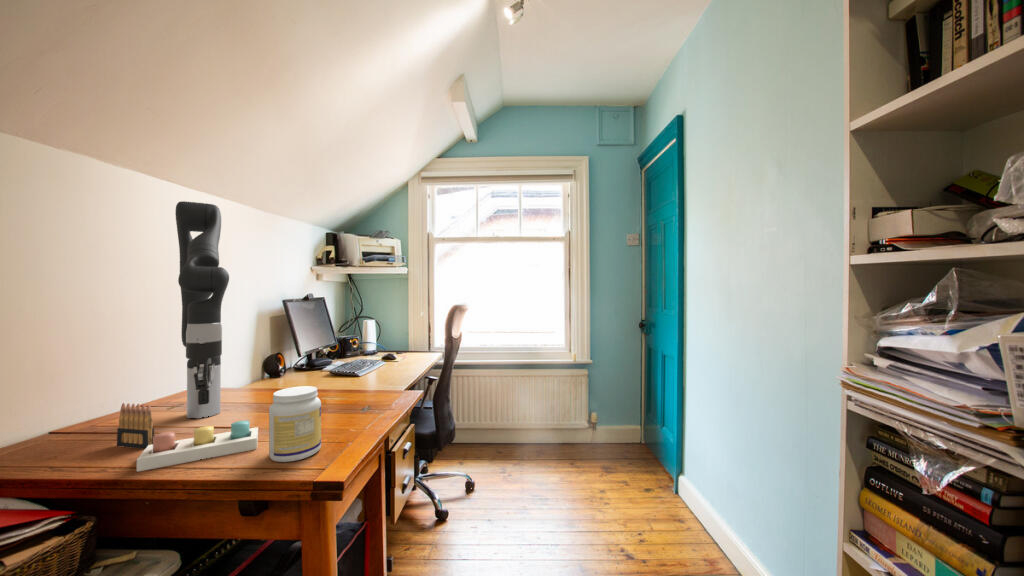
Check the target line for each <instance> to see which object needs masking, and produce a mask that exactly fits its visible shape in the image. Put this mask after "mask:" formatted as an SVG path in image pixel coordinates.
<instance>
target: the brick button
mask: <svg viewBox="0 0 1024 576" xmlns="http://www.w3.org/2000/svg"><path fill="white" fill-rule="evenodd" d="M175 441H176V432H175V431H165V432H161V433H158V434H154V436H153V453H158V452H163V451H169V450H175Z"/></svg>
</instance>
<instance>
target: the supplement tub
mask: <svg viewBox="0 0 1024 576" xmlns="http://www.w3.org/2000/svg"><path fill="white" fill-rule="evenodd" d="M272 395H273V397H272V402H273V403H272V404H270V406H269V409H268V455H269V458H270V459H271V460H272V461H274V462H277V463H288V462H294V461H295V462H296V461H300V460H304V459H306V458H309V457H311V456H313V455H315V454H316V453H318V451H319V450H320V449H321V447H322V401H321V399H320V398H319V397H318V395H319V393H318V387H316V386H311V385H304V386H292V387H287V388H283V389H279V390H277V391H275V392H273V394H272Z"/></svg>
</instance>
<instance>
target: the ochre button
mask: <svg viewBox="0 0 1024 576" xmlns="http://www.w3.org/2000/svg"><path fill="white" fill-rule="evenodd" d="M214 432H215V426H214V425H204V426H200V427H197V428H194V430H193V438H194V446H198V445H204V444H210V443H214V434H215V433H214Z"/></svg>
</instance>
